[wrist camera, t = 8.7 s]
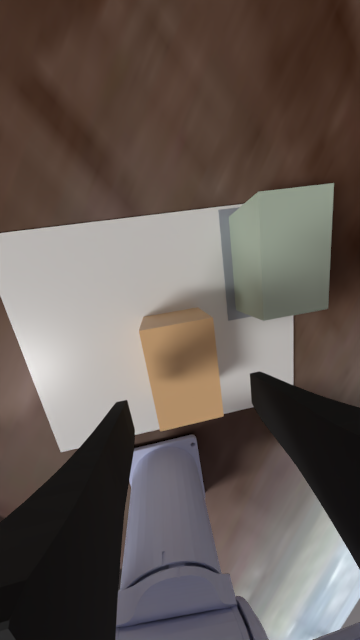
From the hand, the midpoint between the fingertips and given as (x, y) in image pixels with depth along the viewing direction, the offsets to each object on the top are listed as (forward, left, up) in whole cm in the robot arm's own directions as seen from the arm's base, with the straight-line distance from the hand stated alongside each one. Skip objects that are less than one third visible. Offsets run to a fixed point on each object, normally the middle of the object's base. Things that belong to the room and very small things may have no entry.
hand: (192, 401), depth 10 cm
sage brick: (+7, -8, -7) cm, 13 cm away
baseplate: (+2, +1, -8) cm, 8 cm away
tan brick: (0, 0, -7) cm, 7 cm away
